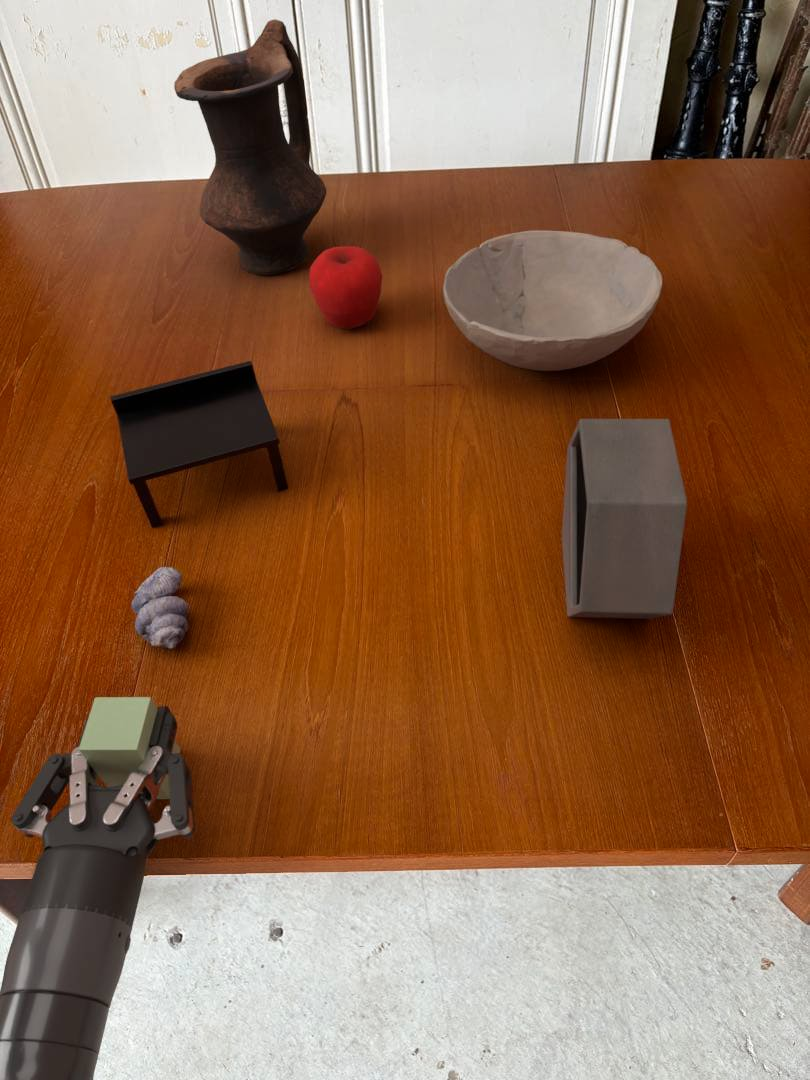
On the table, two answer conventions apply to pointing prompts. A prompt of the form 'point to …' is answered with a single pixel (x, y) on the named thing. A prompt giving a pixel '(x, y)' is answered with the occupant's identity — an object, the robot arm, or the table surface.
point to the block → (120, 738)
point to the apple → (346, 285)
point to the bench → (194, 427)
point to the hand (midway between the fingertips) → (134, 711)
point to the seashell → (161, 609)
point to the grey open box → (622, 519)
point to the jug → (257, 151)
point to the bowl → (551, 297)
